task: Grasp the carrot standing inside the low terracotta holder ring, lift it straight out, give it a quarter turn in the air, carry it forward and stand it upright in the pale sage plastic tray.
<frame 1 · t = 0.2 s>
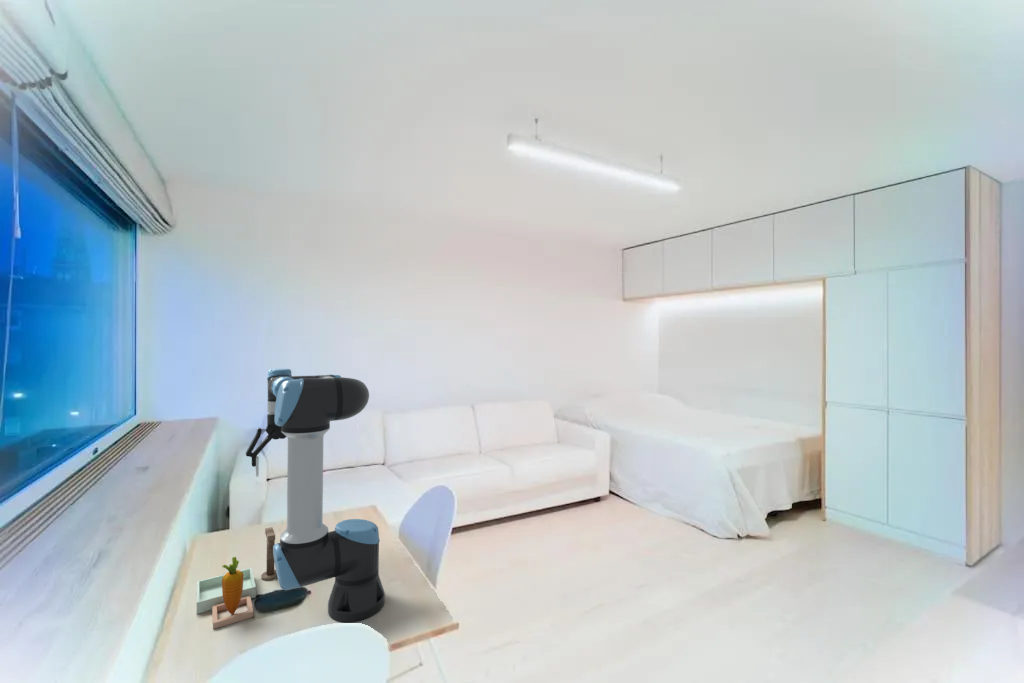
hand: (278, 472, 157), 28 cm above the table, fingers open, 13 cm apart
tray: (225, 594, 130), on the table
carrot: (232, 614, 121), on the table
t stake: (270, 576, 140), on the table
holder ring: (232, 614, 121), on the table
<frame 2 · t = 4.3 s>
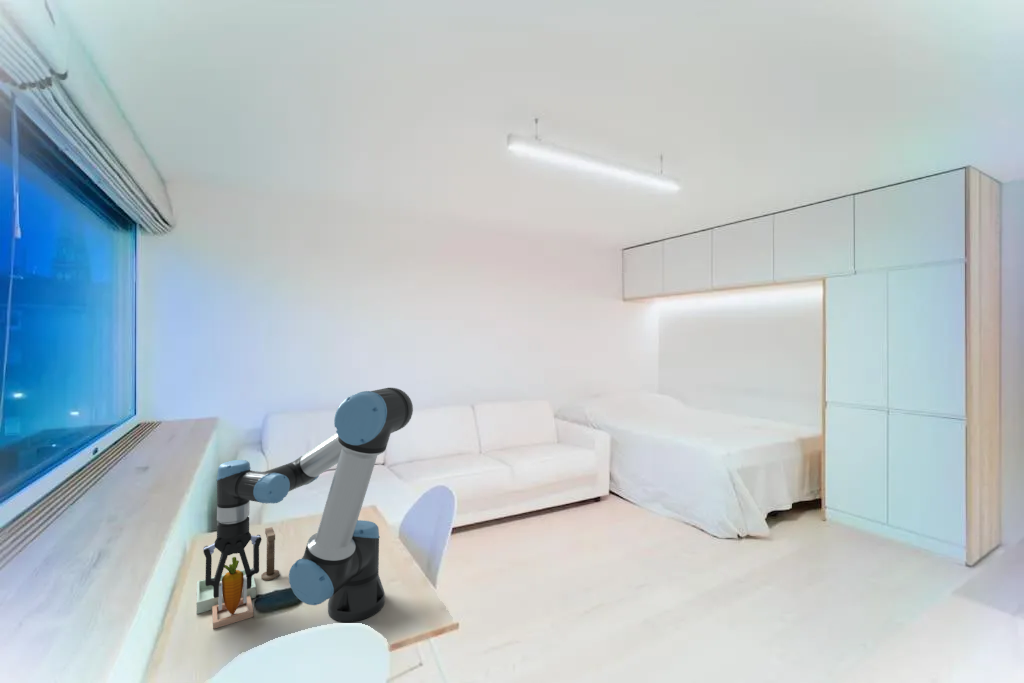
hand: (232, 604, 121), 3 cm above the table, fingers closed on carrot, 5 cm apart
carrot: (232, 614, 121), on the table, touching gripper
when the fingers open (5 cm above the table, at t = 10.6 s): carrot drops 1 cm, resting on tray.
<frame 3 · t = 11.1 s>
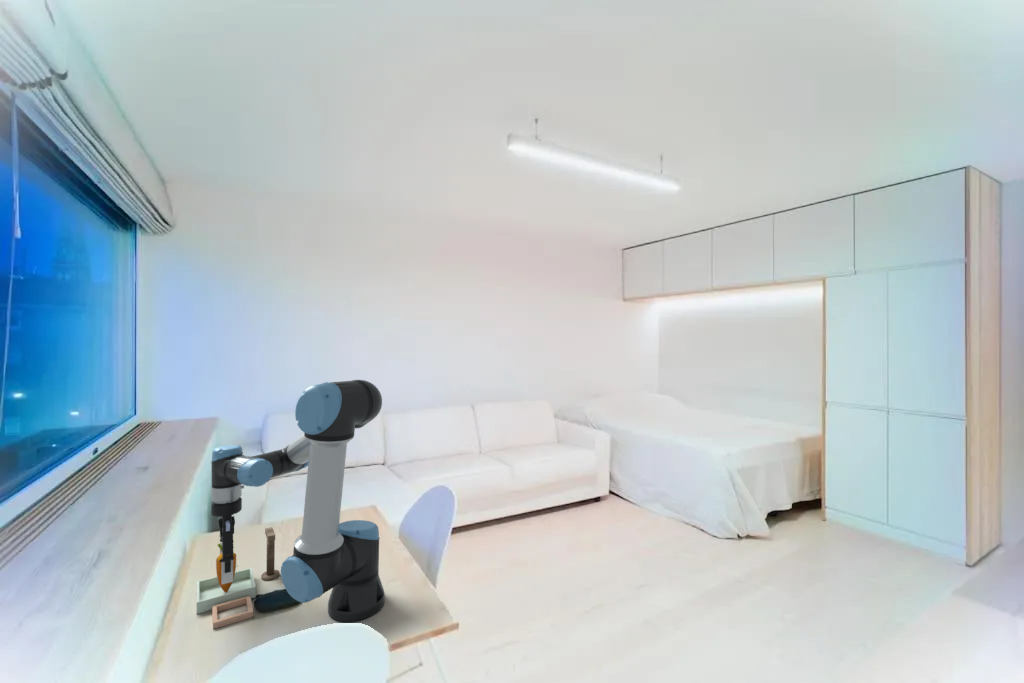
hand: (226, 572, 130), 6 cm above the table, fingers open, 12 cm apart
carrot: (226, 592, 130), resting on tray
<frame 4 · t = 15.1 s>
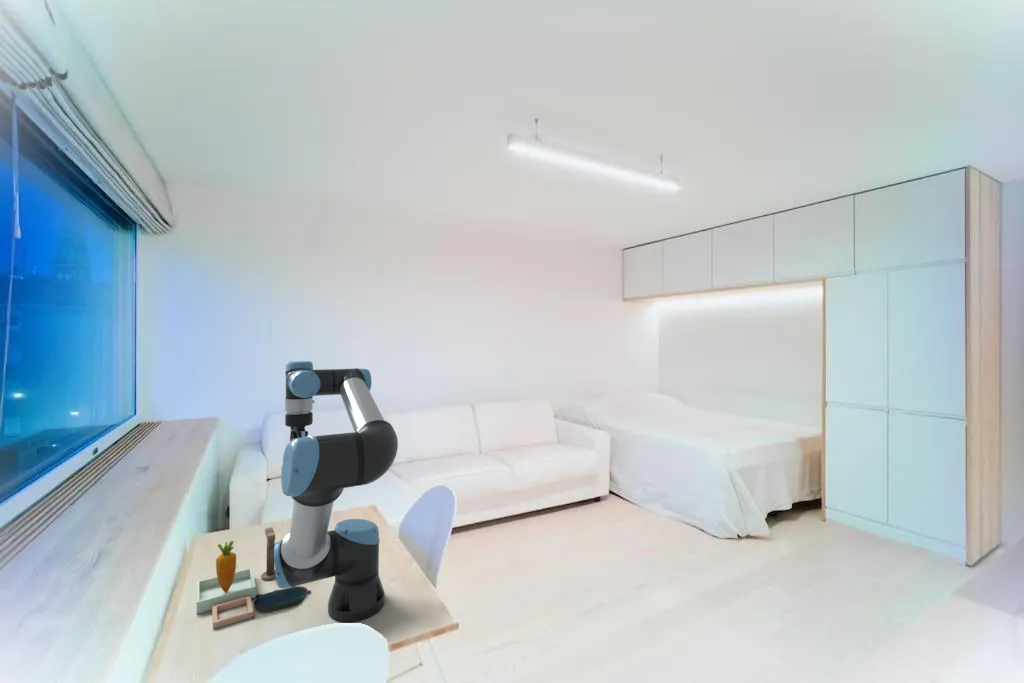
hand: (298, 482, 135), 32 cm above the table, fingers open, 13 cm apart
nothing on the table moved.
at the end: carrot inside the target area on the tray (0.0 cm from its centre), point 0.4 cm above the tray's base; carrot tilted 1°; carrot touching tray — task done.
